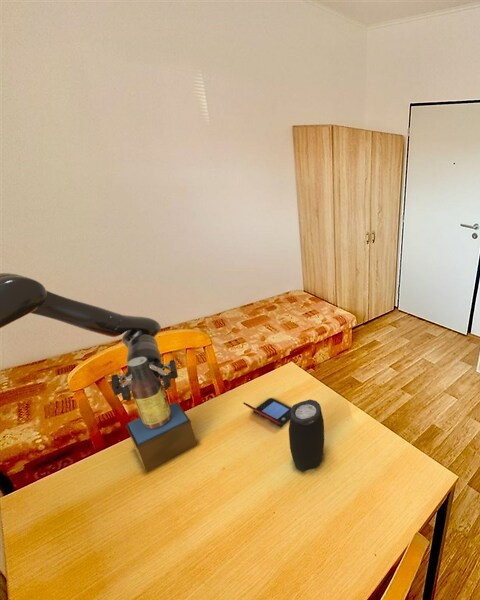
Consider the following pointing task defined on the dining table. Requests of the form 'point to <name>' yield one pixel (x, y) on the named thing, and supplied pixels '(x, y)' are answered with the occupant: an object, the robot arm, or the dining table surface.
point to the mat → (146, 433)
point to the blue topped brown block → (165, 445)
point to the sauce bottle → (148, 394)
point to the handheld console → (273, 411)
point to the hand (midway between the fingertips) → (147, 392)
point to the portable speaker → (306, 434)
